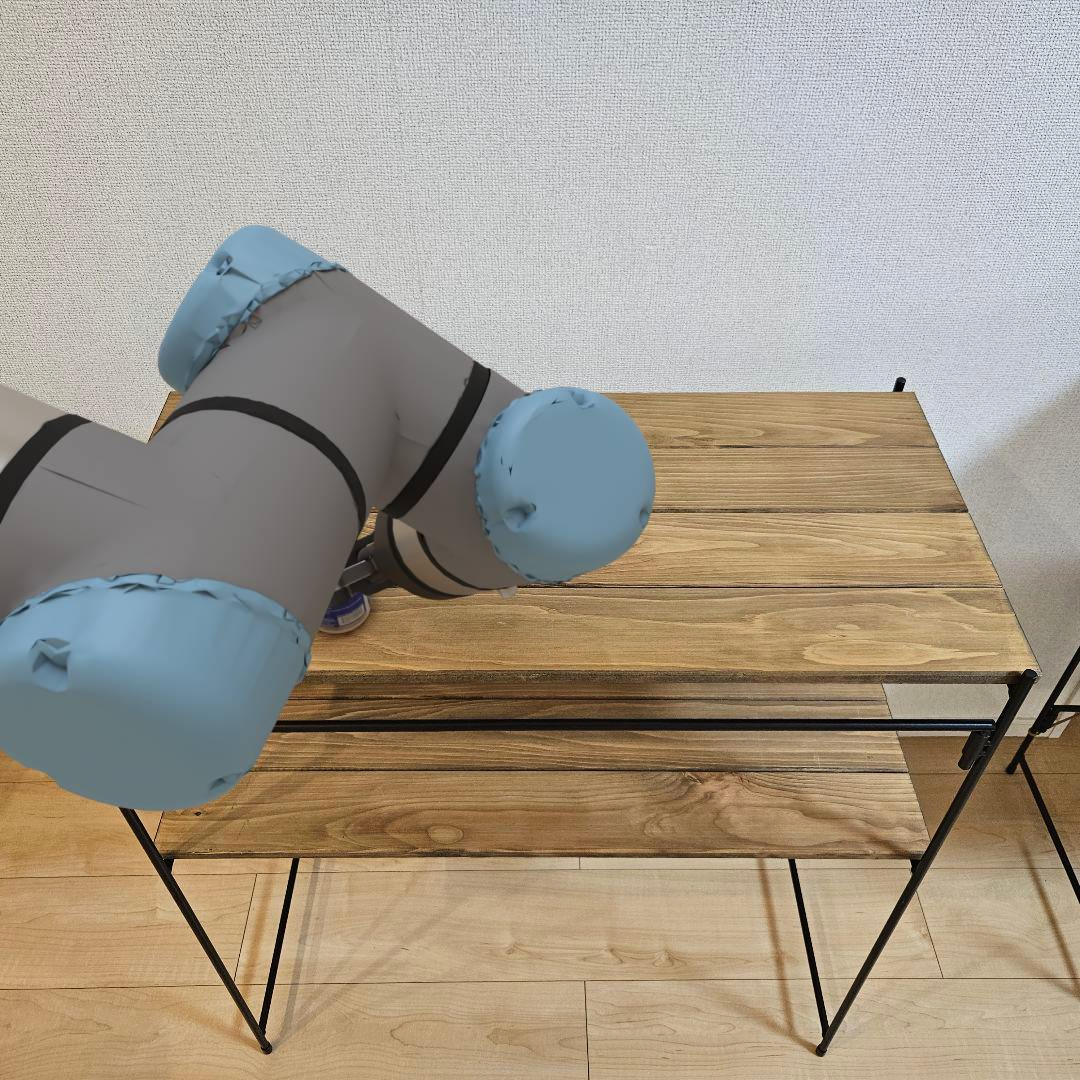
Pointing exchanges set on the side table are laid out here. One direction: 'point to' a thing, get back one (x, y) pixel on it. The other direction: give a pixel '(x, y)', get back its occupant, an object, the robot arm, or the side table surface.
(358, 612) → the pill bottle
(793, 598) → the side table surface
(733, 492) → the side table surface
